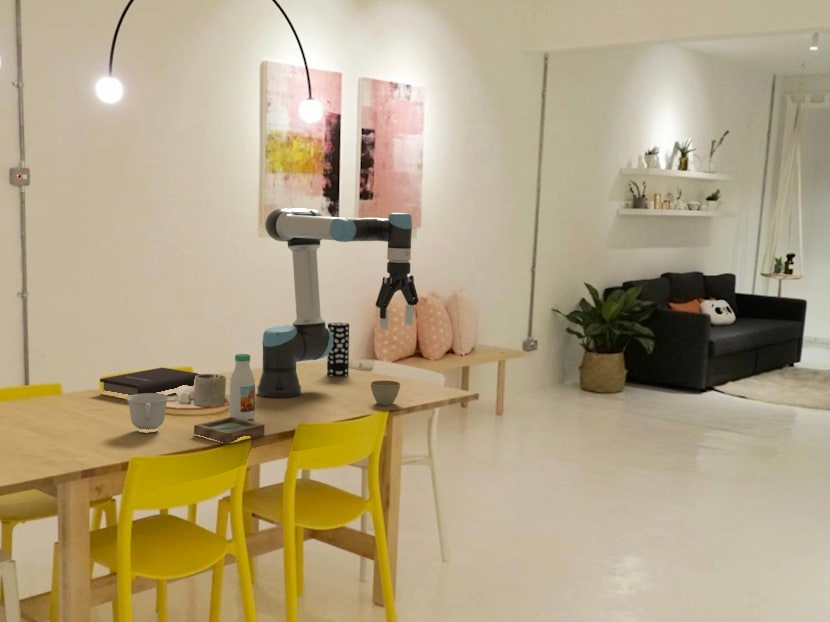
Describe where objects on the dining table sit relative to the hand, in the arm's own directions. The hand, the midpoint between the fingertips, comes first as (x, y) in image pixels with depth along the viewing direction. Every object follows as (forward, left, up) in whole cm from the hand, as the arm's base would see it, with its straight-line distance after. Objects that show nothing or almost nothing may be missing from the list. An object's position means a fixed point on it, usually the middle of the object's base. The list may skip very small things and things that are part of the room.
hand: (396, 326), depth 303 cm
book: (-79, -36, -28) cm, 91 cm away
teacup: (-34, -72, -28) cm, 84 cm away
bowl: (-8, +5, -28) cm, 29 cm away
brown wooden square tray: (-14, -59, -28) cm, 66 cm away
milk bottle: (-27, -42, -28) cm, 57 cm away
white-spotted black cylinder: (-54, +33, -28) cm, 69 cm away
